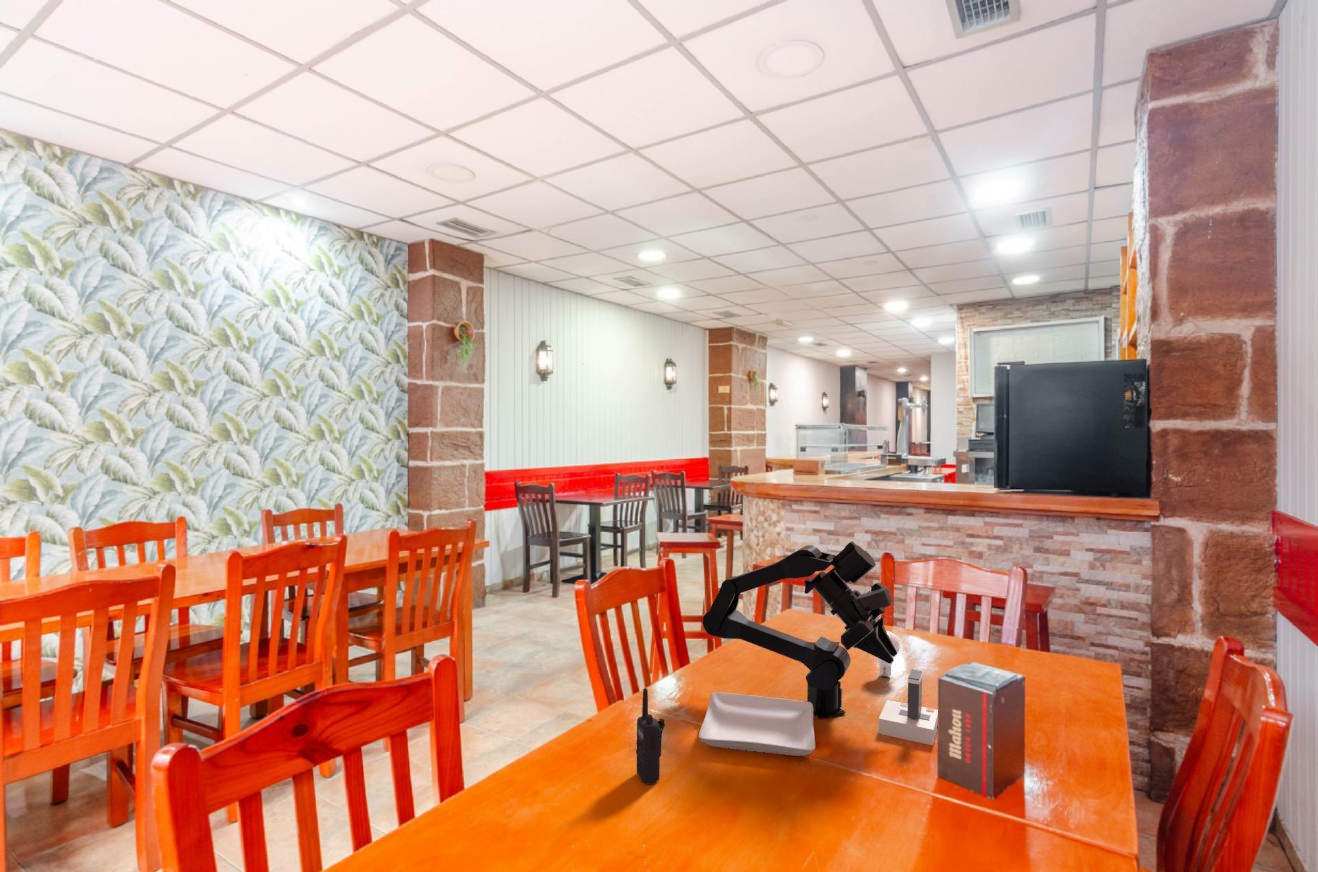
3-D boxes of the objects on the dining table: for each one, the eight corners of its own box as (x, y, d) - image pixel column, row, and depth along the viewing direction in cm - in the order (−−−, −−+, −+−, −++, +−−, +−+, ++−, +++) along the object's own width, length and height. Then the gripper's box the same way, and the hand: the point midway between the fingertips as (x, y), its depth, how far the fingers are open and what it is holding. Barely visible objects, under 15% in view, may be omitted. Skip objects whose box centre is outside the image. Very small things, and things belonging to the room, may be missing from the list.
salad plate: (815, 767, 119) (816, 748, 119) (697, 754, 123) (697, 735, 123) (812, 716, 140) (813, 700, 140) (711, 706, 144) (711, 690, 144)
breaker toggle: (907, 716, 131) (907, 677, 131) (910, 707, 136) (911, 668, 136) (918, 719, 130) (919, 679, 130) (921, 709, 135) (922, 670, 135)
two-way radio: (633, 771, 116) (634, 685, 116) (657, 766, 118) (658, 682, 117) (644, 787, 111) (645, 697, 111) (669, 782, 113) (670, 694, 112)
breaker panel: (878, 733, 131) (878, 717, 131) (886, 713, 140) (887, 699, 140) (933, 745, 127) (933, 729, 127) (938, 724, 136) (938, 709, 136)
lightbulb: (895, 672, 164) (896, 627, 164) (902, 682, 158) (903, 635, 158) (868, 670, 165) (869, 626, 164) (874, 680, 158) (875, 634, 158)
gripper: (858, 581, 129) (918, 648, 124) (876, 564, 145) (930, 622, 140) (817, 616, 132) (874, 682, 128) (838, 595, 149) (890, 653, 144)
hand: (893, 658), depth 135 cm, fingers open, 4 cm apart
